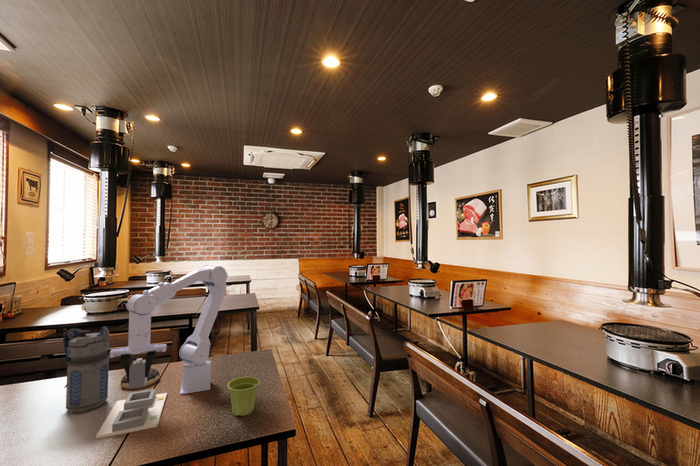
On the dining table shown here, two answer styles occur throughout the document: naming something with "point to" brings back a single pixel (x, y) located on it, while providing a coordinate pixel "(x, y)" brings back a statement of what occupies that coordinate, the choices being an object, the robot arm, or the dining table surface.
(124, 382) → the donut
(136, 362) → the plug
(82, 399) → the beverage bottle
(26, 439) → the dining table surface
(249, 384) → the plant pot
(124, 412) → the panel
